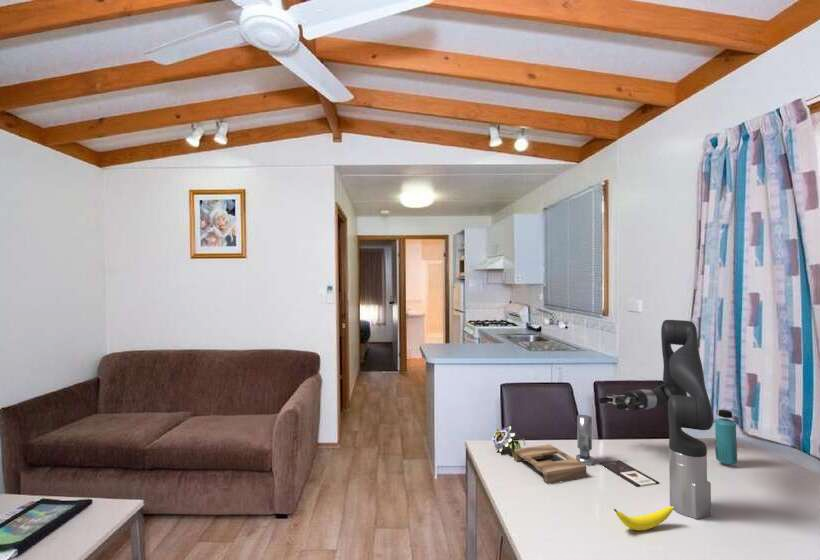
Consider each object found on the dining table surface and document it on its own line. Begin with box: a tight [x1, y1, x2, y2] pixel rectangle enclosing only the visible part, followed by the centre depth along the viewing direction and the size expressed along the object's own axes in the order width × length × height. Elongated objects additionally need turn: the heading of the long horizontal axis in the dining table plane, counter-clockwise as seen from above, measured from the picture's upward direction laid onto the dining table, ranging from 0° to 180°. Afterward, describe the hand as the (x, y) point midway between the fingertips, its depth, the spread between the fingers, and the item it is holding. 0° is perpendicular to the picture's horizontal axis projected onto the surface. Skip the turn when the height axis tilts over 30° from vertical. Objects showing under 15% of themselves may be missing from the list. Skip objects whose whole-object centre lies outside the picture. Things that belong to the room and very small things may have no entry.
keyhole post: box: [575, 414, 595, 467], centre depth 153 cm, size 6×6×17 cm
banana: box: [613, 506, 674, 531], centre depth 111 cm, size 3×19×6 cm, turn 102°
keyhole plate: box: [513, 444, 587, 485], centre depth 148 cm, size 20×16×4 cm
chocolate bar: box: [598, 459, 660, 488], centre depth 144 cm, size 9×1×18 cm
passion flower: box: [491, 425, 527, 457], centre depth 163 cm, size 11×11×12 cm
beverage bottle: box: [714, 409, 738, 466], centre depth 151 cm, size 6×7×20 cm
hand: (607, 403), depth 157 cm, fingers open, 8 cm apart
